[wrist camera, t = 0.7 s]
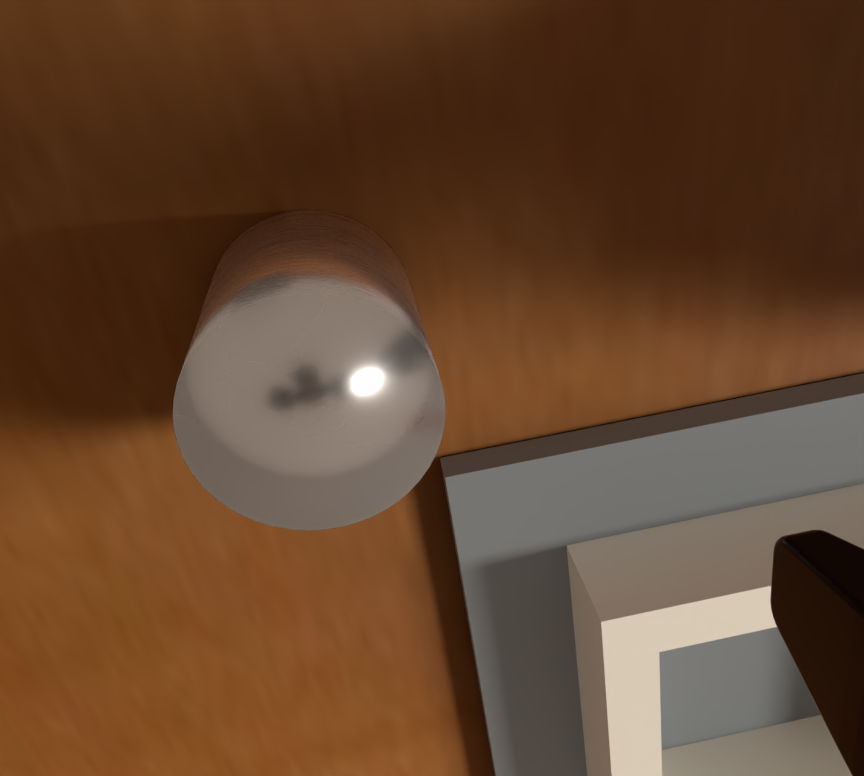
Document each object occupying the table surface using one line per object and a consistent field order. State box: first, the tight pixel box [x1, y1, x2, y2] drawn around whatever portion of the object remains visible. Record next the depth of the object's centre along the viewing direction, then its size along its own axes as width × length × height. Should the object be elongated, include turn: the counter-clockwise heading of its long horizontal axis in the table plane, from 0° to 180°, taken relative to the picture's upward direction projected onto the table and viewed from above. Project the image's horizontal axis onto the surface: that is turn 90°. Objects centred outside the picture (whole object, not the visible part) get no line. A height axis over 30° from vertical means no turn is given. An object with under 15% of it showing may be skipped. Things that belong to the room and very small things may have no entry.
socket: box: [440, 373, 864, 776], centre depth 20 cm, size 14×14×3 cm
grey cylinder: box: [173, 210, 445, 530], centre depth 14 cm, size 4×4×5 cm
